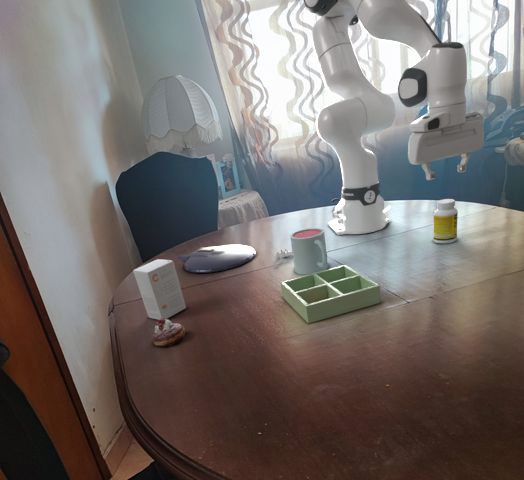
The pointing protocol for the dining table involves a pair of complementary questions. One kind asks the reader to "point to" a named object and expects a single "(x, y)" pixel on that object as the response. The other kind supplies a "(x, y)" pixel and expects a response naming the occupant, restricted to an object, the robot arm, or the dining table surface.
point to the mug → (309, 251)
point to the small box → (160, 289)
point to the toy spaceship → (217, 258)
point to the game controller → (284, 254)
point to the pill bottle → (445, 222)
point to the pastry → (167, 333)
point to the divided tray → (330, 293)
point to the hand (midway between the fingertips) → (446, 175)
